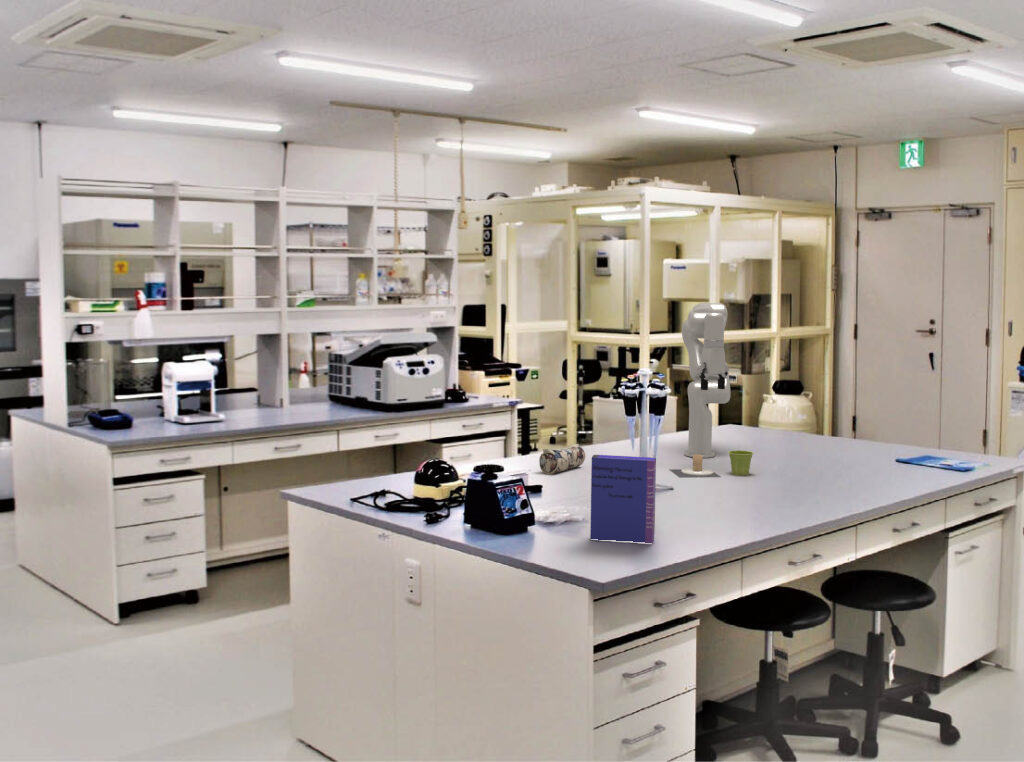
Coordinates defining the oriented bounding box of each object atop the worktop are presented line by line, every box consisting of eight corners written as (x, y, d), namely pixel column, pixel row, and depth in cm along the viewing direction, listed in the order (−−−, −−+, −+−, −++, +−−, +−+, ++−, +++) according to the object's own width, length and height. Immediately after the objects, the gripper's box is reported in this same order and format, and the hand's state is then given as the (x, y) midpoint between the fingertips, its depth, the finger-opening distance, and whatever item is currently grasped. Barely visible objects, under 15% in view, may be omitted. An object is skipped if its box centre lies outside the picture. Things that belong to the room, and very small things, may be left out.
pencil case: (556, 476, 384) (556, 450, 383) (537, 473, 388) (537, 447, 388) (586, 467, 401) (587, 442, 400) (568, 465, 406) (568, 440, 405)
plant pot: (724, 475, 386) (725, 453, 385) (731, 471, 394) (732, 449, 393) (749, 478, 382) (749, 455, 381) (755, 474, 390) (756, 451, 389)
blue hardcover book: (654, 541, 289) (656, 457, 287) (652, 545, 285) (654, 460, 282) (593, 536, 294) (594, 453, 291) (590, 540, 289) (591, 456, 287)
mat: (668, 470, 396) (668, 469, 396) (709, 470, 397) (709, 469, 397) (679, 478, 380) (679, 477, 380) (721, 478, 381) (721, 477, 381)
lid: (677, 470, 394) (678, 452, 393) (708, 470, 395) (708, 452, 394) (685, 476, 382) (686, 457, 381) (717, 476, 383) (717, 457, 382)
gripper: (721, 344, 403) (720, 388, 404) (691, 345, 393) (690, 389, 394) (736, 345, 397) (735, 389, 398) (706, 345, 387) (705, 390, 388)
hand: (712, 389), depth 396 cm, fingers open, 9 cm apart
